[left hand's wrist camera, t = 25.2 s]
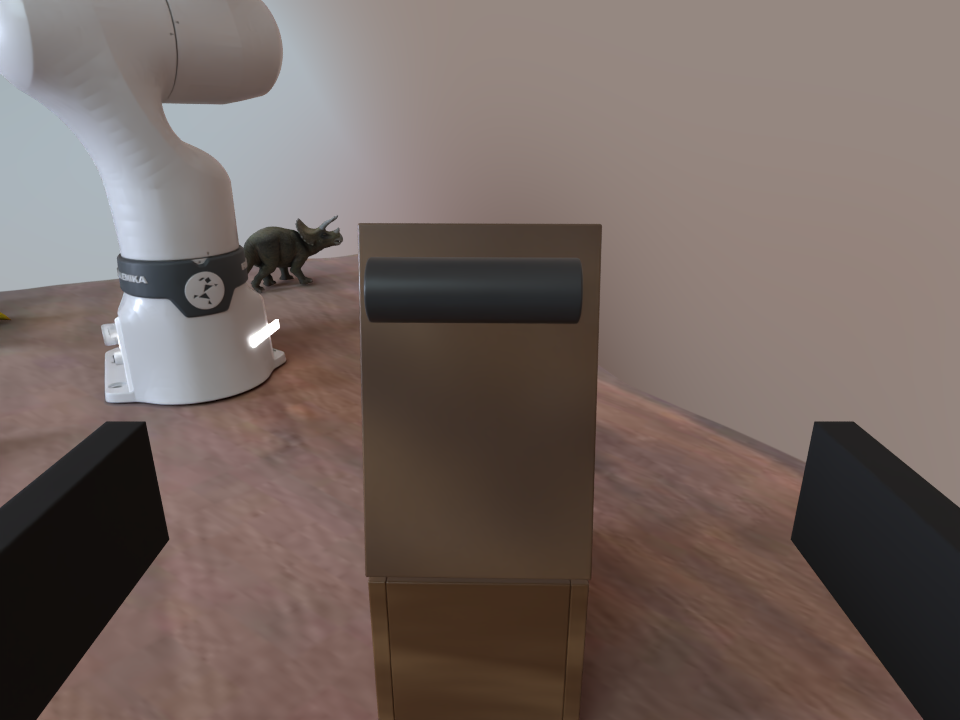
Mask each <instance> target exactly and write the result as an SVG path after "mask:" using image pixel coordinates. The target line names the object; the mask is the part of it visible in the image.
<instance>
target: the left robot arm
mask: <svg viewBox="0 0 960 720" xmlns="http://www.w3.org/2000/svg"><path fill="white" fill-rule="evenodd" d="M168 540H169V536H168V531H167V526H166V521H165V516H164V511H163V506H162V501H161V496H160V491H159V486H158V481H157V476H156V471H155V466H154V461H153V456H152V451H151V446H150V441H149V436H148V431H147V426H146V422H105V423H104V424H103V425H102V426H100V427H99V428H98V429H97V430H96V431H94V432H93V433H92V434H91V435H89V436H88V437H87V438H86V439H84V440H83V441H82V442H81V443H80V444H78V445H77V446H76V447H75V448H73V449H72V450H71V451H70V452H68V453H67V454H66V455H65V456H64V457H62V458H61V459H60V460H59V461H57V462H56V463H55V464H54V465H52V466H51V467H50V468H49V469H48V470H46V471H45V472H44V473H43V474H41V475H40V476H39V477H38V478H36V479H35V480H34V481H33V482H32V483H30V484H29V485H28V486H27V487H25V488H24V489H23V490H22V491H20V492H19V493H18V494H17V495H16V496H14V497H13V498H12V499H11V500H9V501H8V502H7V503H6V504H4V505H3V506H2V507H1V508H0V720H36V719H37V718H38V717H39V715H40V714H41V713H42V711H43V710H44V709H45V707H46V706H47V705H48V703H49V702H50V700H51V699H52V698H53V696H54V695H55V694H56V692H57V691H58V690H59V688H60V687H61V686H62V684H63V683H64V682H65V680H66V679H67V677H68V676H69V675H70V673H71V672H72V671H73V669H74V668H75V667H76V665H77V664H78V663H79V661H80V660H81V658H82V657H83V656H84V654H85V653H86V652H87V650H88V649H89V648H90V646H91V645H92V644H93V642H94V641H95V639H96V638H97V637H98V635H99V634H100V633H101V631H102V630H103V629H104V627H105V626H106V625H107V623H108V622H109V620H110V619H111V618H112V616H113V615H114V614H115V612H116V611H117V610H118V608H119V607H120V606H121V604H122V603H123V602H124V600H125V599H126V597H127V596H128V595H129V593H130V592H131V591H132V589H133V588H134V587H135V585H136V584H137V583H138V581H139V580H140V578H141V577H142V576H143V574H144V573H145V572H146V570H147V569H148V568H149V566H150V565H151V564H152V562H153V561H154V559H155V558H156V557H157V555H158V554H159V553H160V551H161V550H162V549H163V547H164V546H165V545H166V543H167V542H168ZM791 540H792V542H793V543H794V545H795V546H796V547H797V549H798V550H799V551H800V553H801V554H802V555H803V557H804V558H805V559H806V561H807V562H808V564H809V565H810V566H811V568H812V569H813V570H814V572H815V573H816V574H817V576H818V577H819V578H820V580H821V581H822V583H823V584H824V585H825V587H826V588H827V589H828V591H829V592H830V593H831V595H832V596H833V597H834V599H835V600H836V602H837V603H838V604H839V606H840V607H841V608H842V610H843V611H844V612H845V614H846V615H847V616H848V618H849V619H850V620H851V622H852V623H853V625H854V626H855V627H856V629H857V630H858V631H859V633H860V634H861V635H862V637H863V638H864V639H865V641H866V642H867V644H868V645H869V646H870V648H871V649H872V650H873V652H874V653H875V654H876V656H877V657H878V658H879V660H880V661H881V663H882V664H883V665H884V667H885V668H886V669H887V671H888V672H889V673H890V675H891V676H892V677H893V679H894V680H895V682H896V683H897V684H898V686H899V687H900V688H901V690H902V691H903V692H904V694H905V695H906V696H907V698H908V699H909V700H910V702H911V703H912V705H913V706H914V707H915V709H916V710H917V711H918V713H919V714H920V715H921V717H922V718H923V719H924V720H960V508H959V507H958V506H957V505H956V504H954V503H953V502H952V501H951V500H949V499H948V498H947V497H946V496H944V495H943V494H942V493H941V492H940V491H938V490H937V489H936V488H935V487H933V486H932V485H931V484H930V483H928V482H927V481H926V480H925V479H924V478H922V477H921V476H920V475H919V474H917V473H916V472H915V471H914V470H912V469H911V468H910V467H909V466H907V465H906V464H905V463H904V462H903V461H901V460H900V459H899V458H898V457H896V456H895V455H894V454H893V453H892V452H890V451H889V450H888V449H887V448H885V447H884V446H883V445H882V444H880V443H879V442H878V441H877V440H876V439H874V438H873V437H872V436H871V435H869V434H868V433H867V432H866V431H864V430H863V429H862V428H861V427H859V426H858V425H857V424H856V423H855V422H814V427H813V431H812V436H811V441H810V446H809V451H808V456H807V461H806V466H805V471H804V476H803V481H802V486H801V491H800V496H799V501H798V506H797V511H796V516H795V521H794V526H793V531H792V536H791Z"/></svg>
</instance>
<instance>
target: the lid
mask: <svg viewBox="0 0 960 720" xmlns="http://www.w3.org/2000/svg"><path fill="white" fill-rule="evenodd" d="M601 240H602V225H601V224H429V223H427V224H425V223H421V224H419V223H359V224H358V261H359V306H360V351H361V396H362V441H363V486H364V531H365V575H366V577H418V578H495V579H572V580H590V579H591V568H592V535H593V502H594V470H595V437H596V404H597V371H598V338H599V306H600V273H601Z"/></svg>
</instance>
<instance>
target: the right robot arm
mask: <svg viewBox="0 0 960 720" xmlns="http://www.w3.org/2000/svg"><path fill="white" fill-rule="evenodd" d="M282 58H283V48H282V40H281V36H280V32H279V29H278V26H277V24H276V21H275V19H274V17H273V15H272V14H271V12H270V11H269V9H268V7H267V6H266V5H265V4H264V3H263V2H262V1H261V0H0V74H1V75H2V76H3V77H4V78H6V79H7V80H8V81H9V82H10V83H11V84H12V85H14V86H15V87H16V88H18V89H19V90H21V91H22V92H24V93H26V94H27V95H29V96H31V97H32V98H34V99H35V100H37V101H38V102H40V103H41V104H42V105H44V106H45V107H47V108H48V109H49V110H50V111H51V112H53V113H54V114H55V115H56V116H58V117H59V118H60V119H61V120H62V121H63V122H64V123H65V124H66V125H67V126H68V127H69V129H70V130H71V131H72V132H73V133H74V134H75V135H76V137H77V138H78V139H79V140H80V142H81V143H82V144H83V146H84V147H85V148H86V150H87V152H88V153H89V155H90V156H91V158H92V160H93V161H94V163H95V165H96V167H97V169H98V172H99V174H100V176H101V179H102V182H103V184H104V188H105V191H106V195H107V198H108V201H109V205H110V209H111V213H112V216H113V221H114V225H115V229H116V233H117V238H118V243H119V248H120V254H119V255H118V257H117V263H118V268H117V273H118V277H119V280H120V287H121V289H122V290H123V291H124V294H123V298H122V300H121V303H120V306H119V309H118V317H117V318H116V319H115V323H113V324H112V323H111V324H104V325H102V326H101V328H102V333H103V338H104V342H105V345H107V346H110V345H116V344H119V345H120V347H118V348H115V349H112V350H110V351H108V352H106V354H105V398H106V401H107V402H111V403H124V402H145V403H153V404H165V405H178V404H192V403H200V402H207V401H213V400H217V399H222V398H226V397H230V396H233V395H236V394H239V393H242V392H245V391H247V390H250V389H252V388H254V387H256V386H258V385H259V384H261V383H263V382H264V381H265V380H266V379H267V378H268V377H269V376H270V374H271V372H272V371H273V370H274V369H275V368H276V367H278V366H280V365H281V364H283V363H284V362H285V361H286V358H285V353H284V352H283V351H280V350H277V349H274V348H272V342H271V337H270V335H271V334H272V333H273V332H275V331H276V330H277V329H278V328H279V320H275V321H273V322H272V323H271V324H269V325H268V321H267V316H266V311H265V305H264V301H263V298H262V296H261V295H260V294H258V293H257V292H256V291H254V290H252V289H251V288H250V287H249V286H248V285H247V283H246V281H247V280H248V274H247V260H246V258H245V254H244V248H243V247H242V246H240V245H239V242H238V234H237V226H236V218H235V210H234V203H233V195H232V188H231V181H230V178H229V176H228V174H227V172H226V171H225V169H224V168H223V167H222V165H221V164H220V163H219V162H218V161H217V160H216V159H215V158H213V157H212V156H211V155H209V154H208V153H206V152H204V151H202V150H200V149H198V148H196V147H194V146H192V145H190V144H187V143H185V142H183V141H181V140H180V139H179V137H178V136H177V135H176V134H175V133H174V131H173V130H172V129H171V127H170V125H169V123H168V121H167V119H166V117H165V114H164V111H163V108H162V103H180V104H228V103H232V102H238V101H243V100H247V99H251V98H255V97H259V96H263V95H265V94H266V93H268V92H269V91H270V90H271V88H272V87H273V85H274V84H275V82H276V80H277V78H278V76H279V73H280V70H281V65H282Z"/></svg>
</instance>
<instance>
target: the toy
mask: <svg viewBox="0 0 960 720" xmlns="http://www.w3.org/2000/svg"><path fill="white" fill-rule="evenodd" d="M0 320H11V319H9V318H8V317H7V316H6V315H4V314H2V313H1V312H0Z"/></svg>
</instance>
